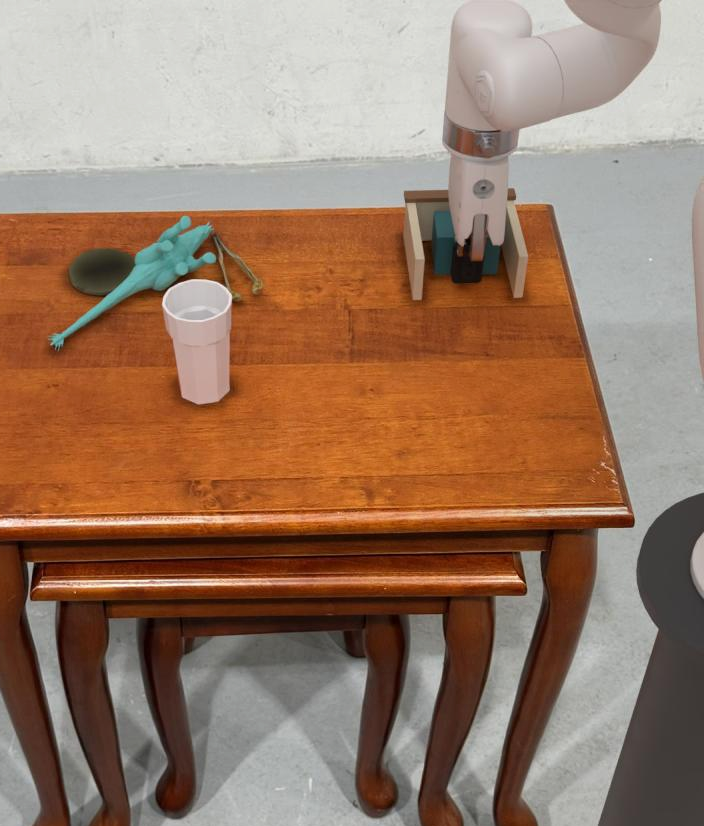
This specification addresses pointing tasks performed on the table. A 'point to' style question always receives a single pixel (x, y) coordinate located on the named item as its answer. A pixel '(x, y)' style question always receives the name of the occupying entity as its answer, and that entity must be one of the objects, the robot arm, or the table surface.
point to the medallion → (100, 270)
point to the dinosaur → (154, 269)
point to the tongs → (239, 261)
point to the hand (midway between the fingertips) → (465, 278)
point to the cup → (200, 337)
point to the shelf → (421, 227)
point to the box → (446, 239)
